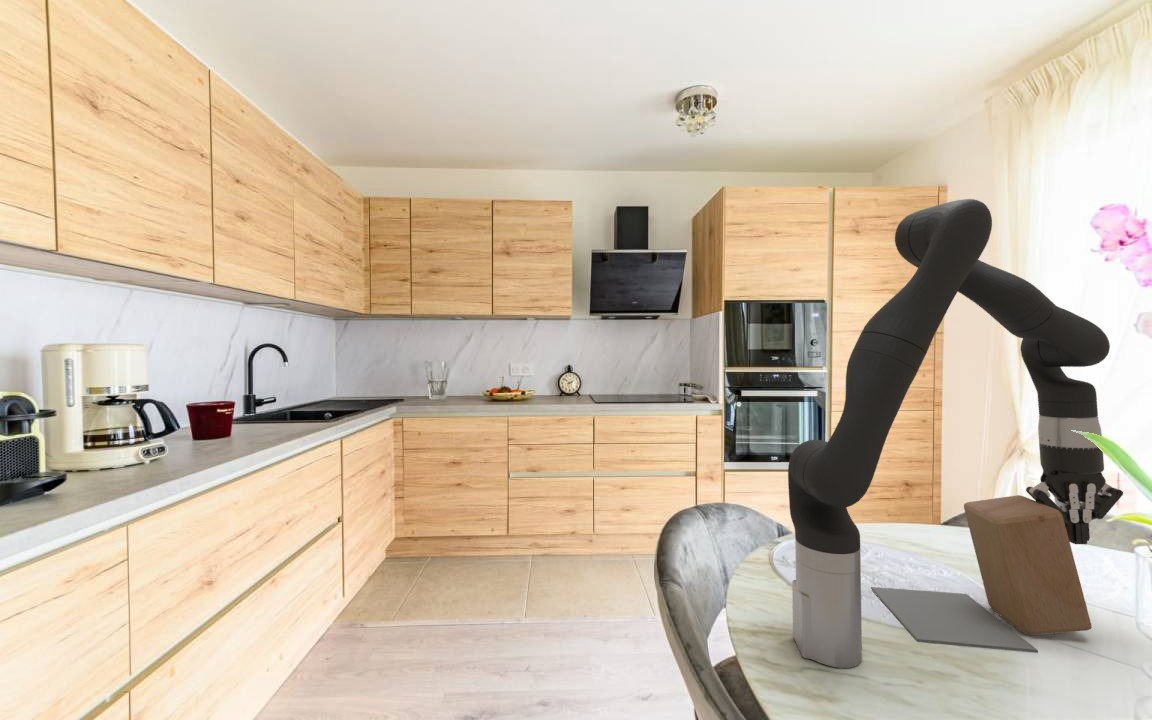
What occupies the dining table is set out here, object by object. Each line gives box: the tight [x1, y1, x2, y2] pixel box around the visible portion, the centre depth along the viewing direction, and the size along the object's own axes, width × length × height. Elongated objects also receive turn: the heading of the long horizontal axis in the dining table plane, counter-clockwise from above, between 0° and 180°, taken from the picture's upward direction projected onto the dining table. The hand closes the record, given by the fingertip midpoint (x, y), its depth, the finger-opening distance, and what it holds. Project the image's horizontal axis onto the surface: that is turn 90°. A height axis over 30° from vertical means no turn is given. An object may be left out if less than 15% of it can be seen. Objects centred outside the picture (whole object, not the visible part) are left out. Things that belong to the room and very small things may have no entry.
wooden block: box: [963, 494, 1092, 636], centre depth 82 cm, size 10×10×20 cm
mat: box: [870, 586, 1039, 653], centre depth 84 cm, size 17×18×1 cm
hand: (1076, 542), depth 80 cm, fingers closed
